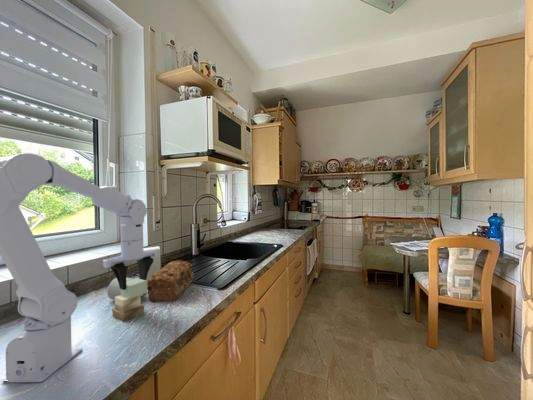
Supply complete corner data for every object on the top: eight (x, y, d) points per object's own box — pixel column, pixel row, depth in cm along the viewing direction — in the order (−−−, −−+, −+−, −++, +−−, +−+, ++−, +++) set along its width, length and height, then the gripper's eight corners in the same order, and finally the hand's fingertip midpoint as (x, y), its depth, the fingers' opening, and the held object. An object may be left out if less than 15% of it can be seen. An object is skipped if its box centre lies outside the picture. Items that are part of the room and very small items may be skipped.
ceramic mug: (126, 305, 75) (126, 281, 75) (106, 303, 76) (106, 280, 76) (150, 292, 85) (149, 272, 85) (131, 291, 87) (131, 271, 87)
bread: (170, 282, 95) (169, 259, 95) (195, 282, 95) (194, 258, 95) (145, 302, 76) (145, 273, 76) (176, 302, 76) (176, 273, 76)
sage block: (129, 298, 63) (129, 286, 63) (120, 295, 65) (120, 283, 65) (147, 292, 67) (146, 280, 67) (138, 289, 70) (137, 278, 70)
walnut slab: (123, 323, 64) (123, 314, 64) (112, 318, 67) (112, 309, 67) (143, 313, 69) (143, 305, 69) (133, 309, 72) (132, 301, 72)
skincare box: (161, 279, 99) (160, 245, 99) (161, 283, 93) (161, 248, 93) (139, 282, 95) (138, 247, 95) (138, 287, 90) (137, 250, 90)
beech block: (123, 312, 65) (122, 300, 65) (114, 308, 68) (114, 296, 68) (140, 305, 69) (140, 294, 69) (132, 302, 72) (131, 291, 72)
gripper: (148, 235, 75) (149, 276, 75) (97, 242, 62) (98, 291, 62) (161, 236, 71) (162, 279, 71) (109, 245, 59) (110, 297, 59)
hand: (133, 285), depth 66 cm, fingers closed on sage block, 5 cm apart
